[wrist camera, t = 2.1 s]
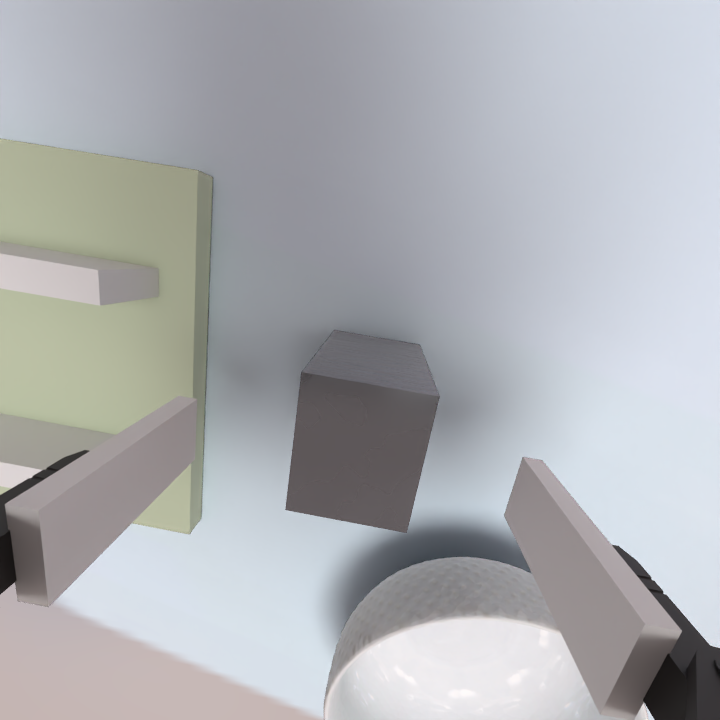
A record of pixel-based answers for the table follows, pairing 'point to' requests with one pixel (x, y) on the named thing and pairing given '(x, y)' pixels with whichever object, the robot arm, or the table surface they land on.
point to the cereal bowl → (456, 650)
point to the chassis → (100, 308)
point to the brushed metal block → (362, 431)
